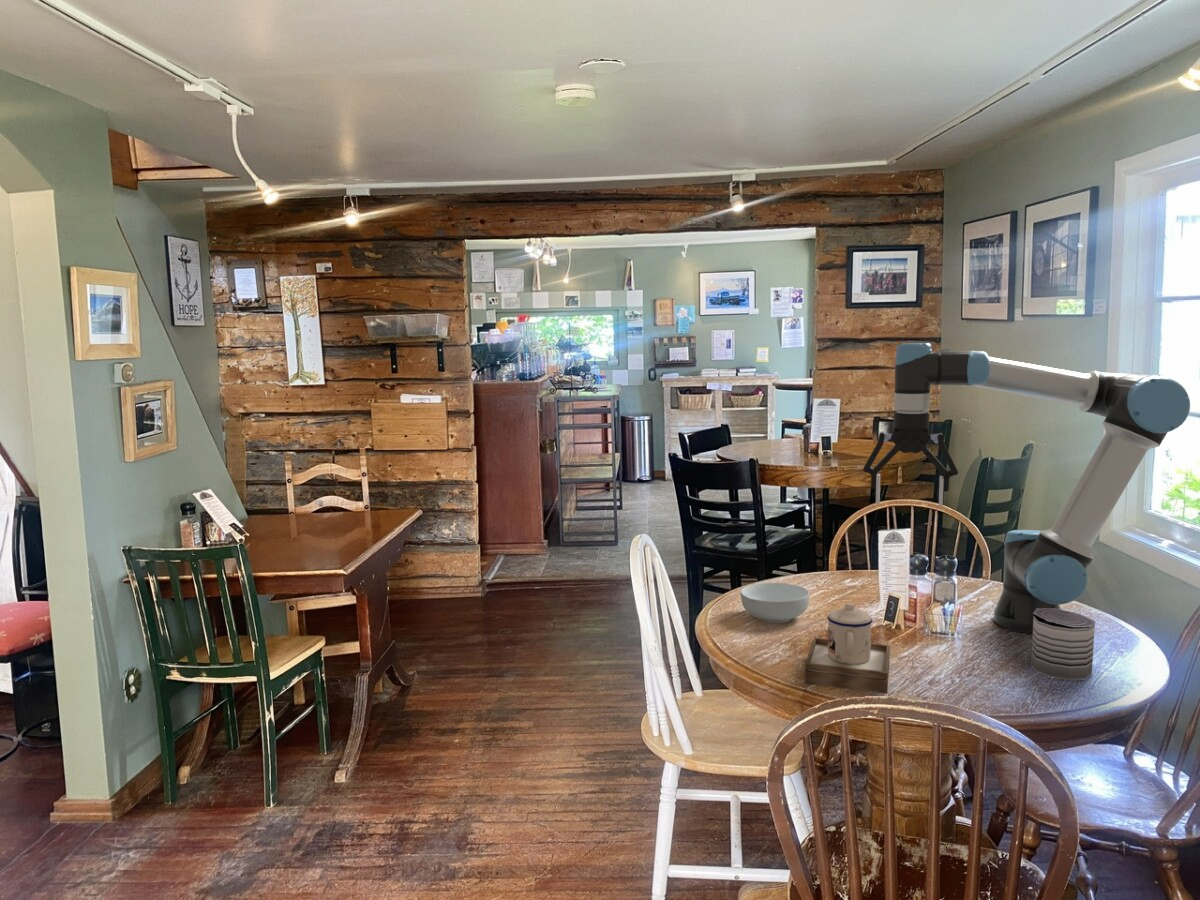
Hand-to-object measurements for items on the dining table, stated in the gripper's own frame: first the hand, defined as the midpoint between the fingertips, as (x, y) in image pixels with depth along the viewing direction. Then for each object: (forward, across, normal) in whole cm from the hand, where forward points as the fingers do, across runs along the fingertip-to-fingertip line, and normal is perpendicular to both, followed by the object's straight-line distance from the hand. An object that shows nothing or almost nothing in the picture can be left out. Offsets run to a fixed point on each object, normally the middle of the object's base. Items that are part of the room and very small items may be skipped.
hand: (908, 504), depth 196 cm
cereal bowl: (+32, +31, -5) cm, 45 cm away
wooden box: (+32, +11, +26) cm, 42 cm away
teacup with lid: (+29, +11, +26) cm, 40 cm away
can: (+32, -31, +11) cm, 46 cm away
